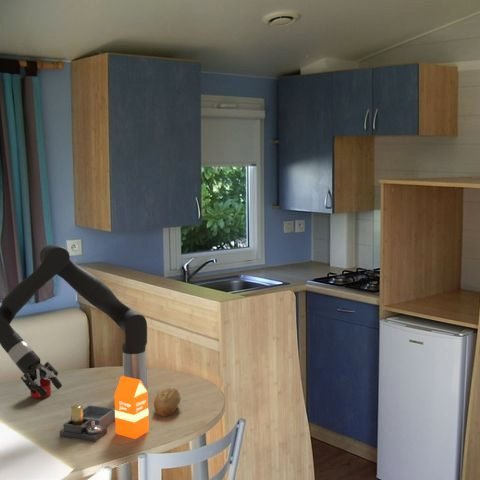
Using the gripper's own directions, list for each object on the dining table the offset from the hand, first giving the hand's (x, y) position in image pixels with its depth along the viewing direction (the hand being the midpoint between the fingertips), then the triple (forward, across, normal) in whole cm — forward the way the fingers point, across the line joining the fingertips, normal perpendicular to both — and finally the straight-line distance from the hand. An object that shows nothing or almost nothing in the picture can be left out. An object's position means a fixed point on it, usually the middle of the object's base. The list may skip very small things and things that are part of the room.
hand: (53, 391), depth 254 cm
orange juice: (+29, +8, -9) cm, 31 cm away
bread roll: (+31, +30, -10) cm, 45 cm away
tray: (+17, +10, +3) cm, 20 cm away
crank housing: (+18, 0, +2) cm, 18 cm away
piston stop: (+15, 0, +2) cm, 16 cm away
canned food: (-8, +27, +28) cm, 40 cm away
